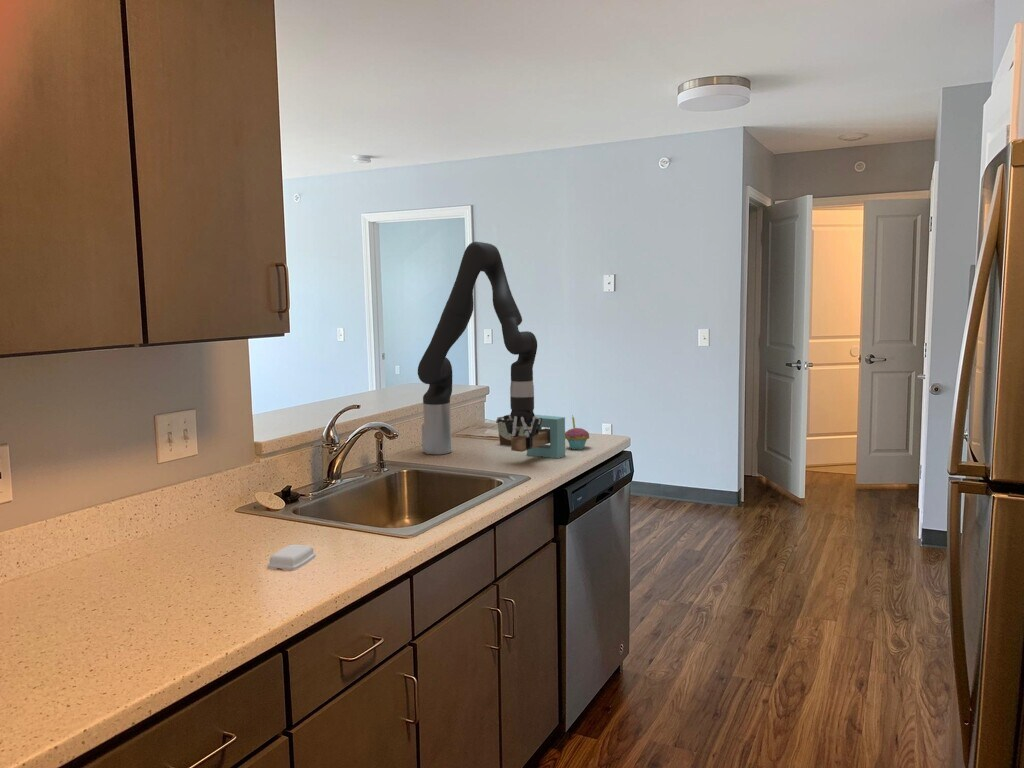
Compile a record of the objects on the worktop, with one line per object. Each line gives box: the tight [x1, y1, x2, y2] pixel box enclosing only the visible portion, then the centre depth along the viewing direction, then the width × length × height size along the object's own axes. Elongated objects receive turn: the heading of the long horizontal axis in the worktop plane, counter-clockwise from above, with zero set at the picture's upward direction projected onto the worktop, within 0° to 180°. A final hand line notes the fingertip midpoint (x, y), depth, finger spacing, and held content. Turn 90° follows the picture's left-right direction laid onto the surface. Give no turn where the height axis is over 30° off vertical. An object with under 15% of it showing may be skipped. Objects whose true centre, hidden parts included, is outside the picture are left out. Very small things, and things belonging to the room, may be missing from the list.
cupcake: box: [565, 414, 590, 450], centre depth 261 cm, size 9×8×12 cm
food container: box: [495, 416, 526, 447], centre depth 269 cm, size 12×6×10 cm, turn 58°
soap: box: [266, 544, 317, 571], centre depth 153 cm, size 9×7×3 cm
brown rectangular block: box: [510, 427, 550, 452], centre depth 245 cm, size 4×20×4 cm, turn 144°
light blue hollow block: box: [526, 414, 566, 460], centre depth 250 cm, size 12×5×13 cm, turn 55°
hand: (522, 447), depth 240 cm, fingers closed on brown rectangular block, 4 cm apart
